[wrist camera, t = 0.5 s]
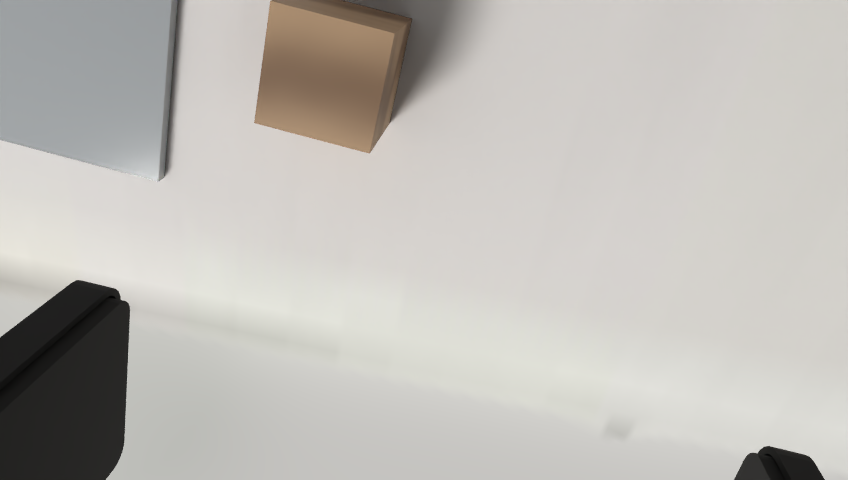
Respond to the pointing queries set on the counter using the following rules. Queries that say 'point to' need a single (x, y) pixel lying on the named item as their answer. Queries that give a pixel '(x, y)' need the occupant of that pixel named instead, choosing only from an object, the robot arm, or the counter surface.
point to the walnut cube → (331, 70)
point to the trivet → (89, 80)
